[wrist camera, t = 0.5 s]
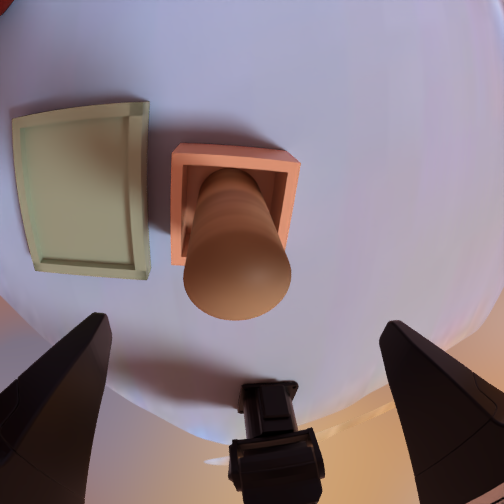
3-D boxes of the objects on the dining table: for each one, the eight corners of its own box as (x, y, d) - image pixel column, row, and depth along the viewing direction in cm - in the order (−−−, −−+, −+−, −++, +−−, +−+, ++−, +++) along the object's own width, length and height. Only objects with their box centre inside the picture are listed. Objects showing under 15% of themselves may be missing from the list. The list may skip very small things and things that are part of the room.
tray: (151, 267, 21) (147, 280, 20) (43, 260, 20) (35, 270, 18) (149, 101, 15) (143, 102, 14) (24, 115, 14) (11, 118, 12)
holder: (272, 242, 21) (281, 269, 18) (178, 238, 20) (171, 265, 17) (286, 150, 18) (300, 163, 15) (180, 142, 17) (171, 153, 14)
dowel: (256, 227, 20) (281, 320, 12) (197, 224, 19) (184, 318, 11) (264, 170, 18) (300, 235, 10) (200, 166, 17) (182, 228, 9)
